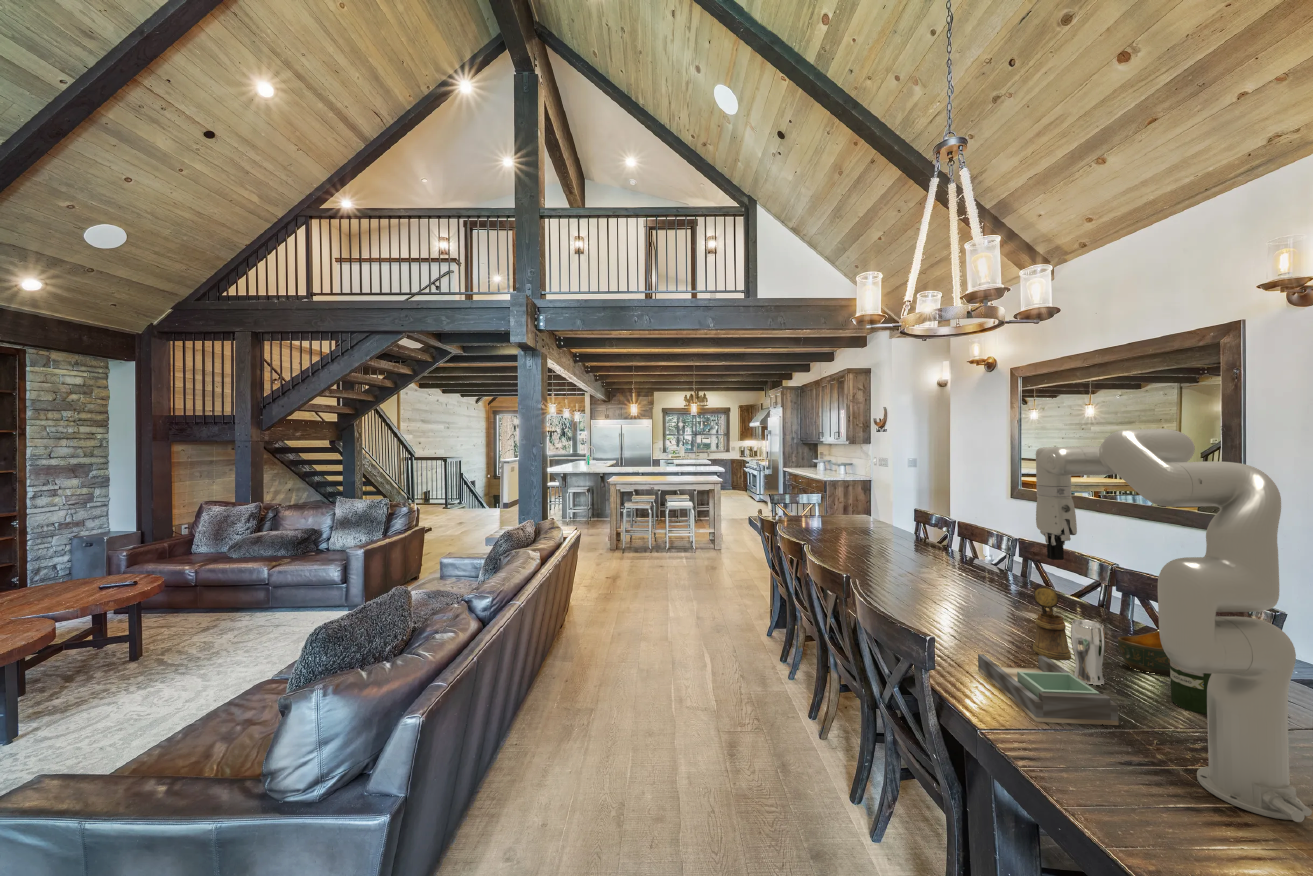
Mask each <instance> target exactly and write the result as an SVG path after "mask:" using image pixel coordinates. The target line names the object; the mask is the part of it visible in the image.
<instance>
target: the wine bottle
mask: <svg viewBox="0 0 1313 876" xmlns="http://www.w3.org/2000/svg"><path fill="white" fill-rule="evenodd" d="M1211 674H1212V673H1196V672H1191V671H1187V670H1184V669H1182V668H1180V667H1178V666H1177V665H1175V664H1174V663H1173V662H1172V661H1171V660H1170V676H1169V678H1170V701H1171V702H1172V701H1173V702H1174V703H1175V704H1174V703H1173V702H1172V703H1173V704H1174V705H1176V704H1177V705H1178V707H1179V706H1180V707H1179V708H1181V707H1182V709H1183V708H1184V710H1187V711H1189V712H1193V713H1196V714H1201V715H1207V685H1208V681H1209V678H1210V676H1211ZM1177 705H1176V706H1177Z"/></svg>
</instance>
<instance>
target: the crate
mask: <svg viewBox="0 0 1313 876" xmlns="http://www.w3.org/2000/svg"><path fill="white" fill-rule="evenodd" d="M1070 673H1071V672H1069V673H1052V672H1019V671H1017V681H1018V682H1019V683H1020V684H1021V685H1022V686H1023V687H1025V688H1026V689H1027V690H1028V691H1030V692H1031V693H1032V694H1033V695H1035V696H1036V697H1037V698H1038V699H1039V692H1041V693H1069V694H1098V695H1100V693H1101V692H1100V691H1098V690H1096V689H1095V690H1094V688H1093V687H1092V686H1091V685H1089V684H1085V683H1084V682H1082V681H1081V680H1079V679H1078V678H1076V677H1075V676H1073V675H1074V674H1072V673H1071V674H1070ZM1088 685H1089V686H1088ZM1091 687H1092V688H1091ZM1097 691H1098V692H1097Z"/></svg>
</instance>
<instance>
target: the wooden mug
mask: <svg viewBox="0 0 1313 876" xmlns="http://www.w3.org/2000/svg"><path fill="white" fill-rule="evenodd" d="M1033 597H1034V601H1035V603H1036V604H1038V605H1039V606H1040V607H1041V613H1038V614H1037V618H1036V620H1035V624H1036V629H1035V630H1036V631H1035V638H1034V642H1033V644H1032V650H1033V652H1034V653H1035V654H1037V655H1038V656H1045V657H1047V658H1048V659H1050V660H1051V659H1052V660H1061V661H1065V660H1066V661H1067V660H1070V659H1072V653H1071V650H1070V647H1069V643H1068V638H1067V637H1068V636H1067V634H1066V622H1065V621H1064V617H1062V616H1061V615H1058V614H1057V615H1056V614H1054V609H1053V608H1055V607H1056V606H1058V604H1059V595H1058V593H1057V592H1056V591H1055V590H1053V589H1052V588H1051V587H1049V586H1047V585H1042V586H1040V587H1038V588H1037V589H1035V591H1034V595H1033Z"/></svg>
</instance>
